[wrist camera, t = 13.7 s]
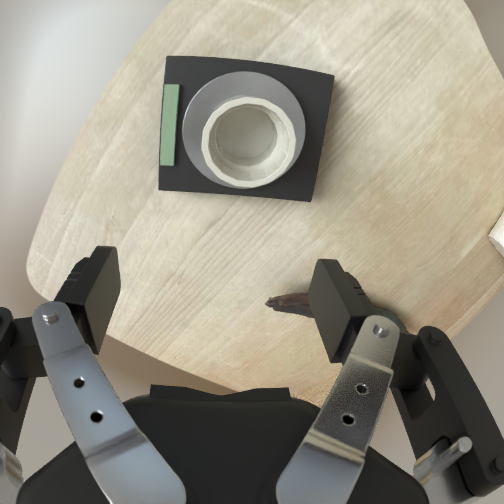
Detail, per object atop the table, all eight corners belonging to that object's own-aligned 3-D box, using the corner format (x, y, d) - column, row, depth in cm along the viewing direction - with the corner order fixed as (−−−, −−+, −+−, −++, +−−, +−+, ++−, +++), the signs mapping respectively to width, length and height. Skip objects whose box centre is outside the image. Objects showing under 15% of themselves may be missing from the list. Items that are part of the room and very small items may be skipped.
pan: (180, 181, 26) (179, 184, 26) (189, 67, 21) (187, 66, 21) (292, 190, 28) (294, 194, 27) (311, 81, 23) (314, 81, 22)
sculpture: (274, 259, 34) (281, 286, 30) (430, 318, 43) (444, 340, 39) (254, 291, 37) (259, 320, 32) (411, 339, 45) (424, 361, 41)
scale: (163, 181, 29) (157, 192, 26) (171, 57, 23) (165, 55, 20) (305, 193, 31) (312, 204, 28) (326, 75, 25) (336, 75, 22)
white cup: (203, 163, 25) (198, 183, 20) (209, 91, 22) (206, 93, 17) (276, 170, 26) (287, 191, 21) (287, 99, 23) (302, 104, 18)
